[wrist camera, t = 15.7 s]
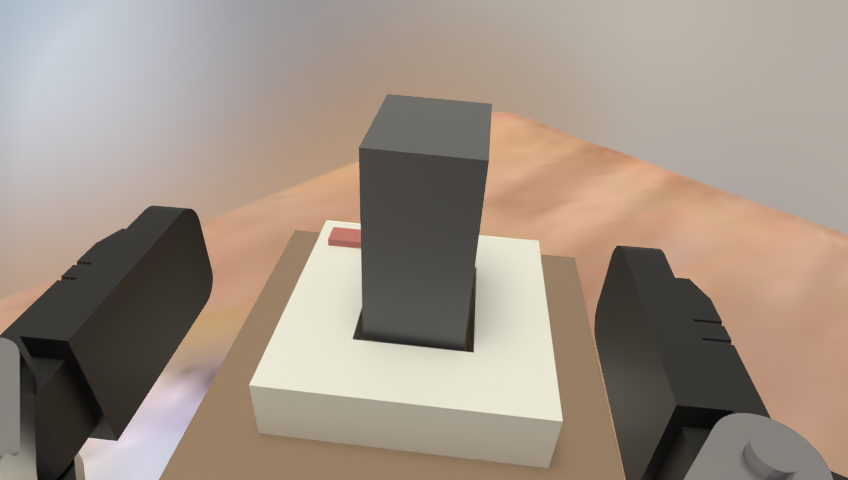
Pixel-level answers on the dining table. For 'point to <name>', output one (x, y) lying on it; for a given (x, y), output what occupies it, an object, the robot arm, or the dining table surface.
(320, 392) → the socket
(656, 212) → the dining table surface
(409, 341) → the plug
